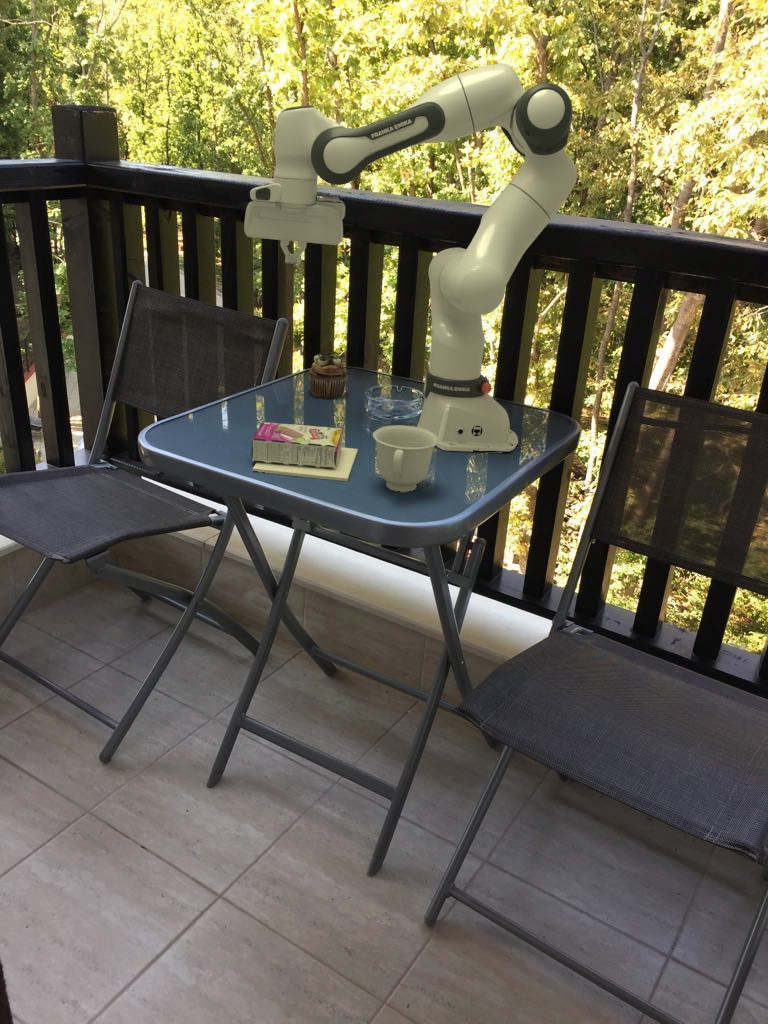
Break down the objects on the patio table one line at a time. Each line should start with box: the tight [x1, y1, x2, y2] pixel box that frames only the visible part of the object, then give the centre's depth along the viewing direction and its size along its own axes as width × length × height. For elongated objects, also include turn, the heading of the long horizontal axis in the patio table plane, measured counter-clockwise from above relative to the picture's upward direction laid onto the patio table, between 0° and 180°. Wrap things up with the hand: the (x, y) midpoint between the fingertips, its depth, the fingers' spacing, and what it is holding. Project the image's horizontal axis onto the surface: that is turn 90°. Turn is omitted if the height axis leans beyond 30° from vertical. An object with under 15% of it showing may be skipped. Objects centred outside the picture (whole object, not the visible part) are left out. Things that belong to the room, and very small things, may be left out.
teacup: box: [372, 424, 439, 493], centre depth 158 cm, size 12×15×10 cm
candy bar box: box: [251, 421, 343, 469], centre depth 168 cm, size 11×5×16 cm
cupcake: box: [307, 352, 348, 400], centre depth 208 cm, size 10×10×10 cm
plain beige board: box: [252, 446, 358, 482], centre depth 169 cm, size 18×16×1 cm
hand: (292, 263), depth 180 cm, fingers closed
